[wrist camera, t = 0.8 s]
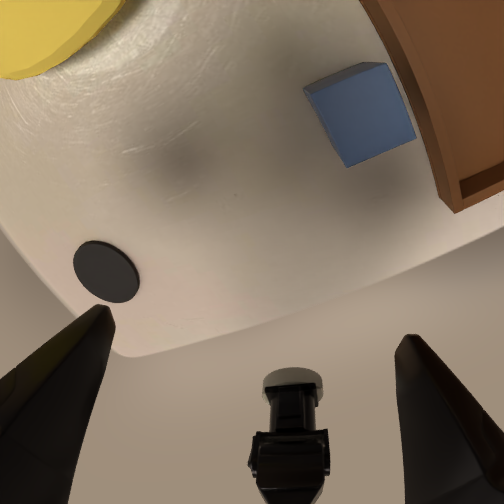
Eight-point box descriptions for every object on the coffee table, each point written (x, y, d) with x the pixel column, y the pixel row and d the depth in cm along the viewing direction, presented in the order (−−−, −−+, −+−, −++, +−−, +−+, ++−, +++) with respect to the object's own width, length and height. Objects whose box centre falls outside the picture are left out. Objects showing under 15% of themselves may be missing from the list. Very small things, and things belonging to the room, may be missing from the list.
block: (332, 147, 17) (346, 169, 14) (301, 88, 15) (309, 94, 12) (390, 122, 16) (417, 138, 13) (363, 61, 14) (386, 62, 11)
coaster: (151, 297, 25) (149, 300, 25) (96, 302, 27) (94, 305, 26) (119, 234, 22) (117, 237, 22) (63, 247, 23) (61, 250, 23)
